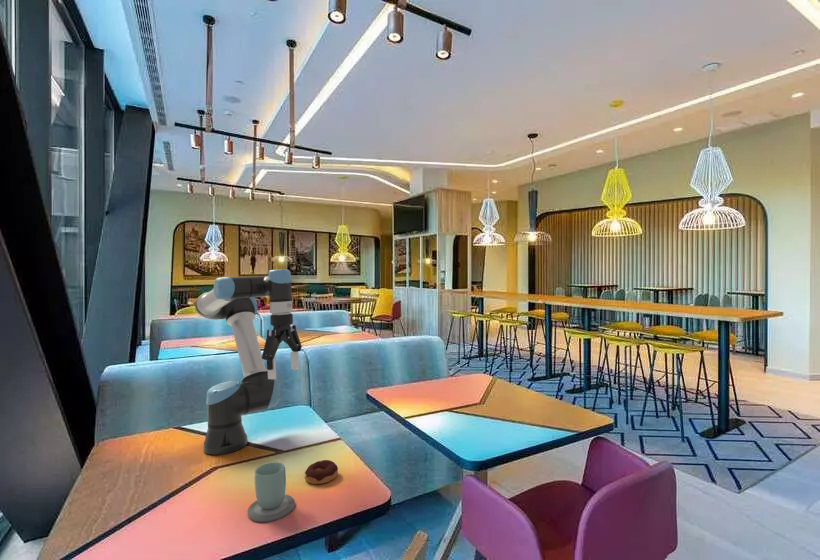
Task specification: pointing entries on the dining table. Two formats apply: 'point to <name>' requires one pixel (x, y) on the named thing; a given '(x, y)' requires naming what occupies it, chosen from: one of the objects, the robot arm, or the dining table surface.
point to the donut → (321, 472)
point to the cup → (270, 484)
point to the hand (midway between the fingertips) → (284, 374)
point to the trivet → (271, 511)
